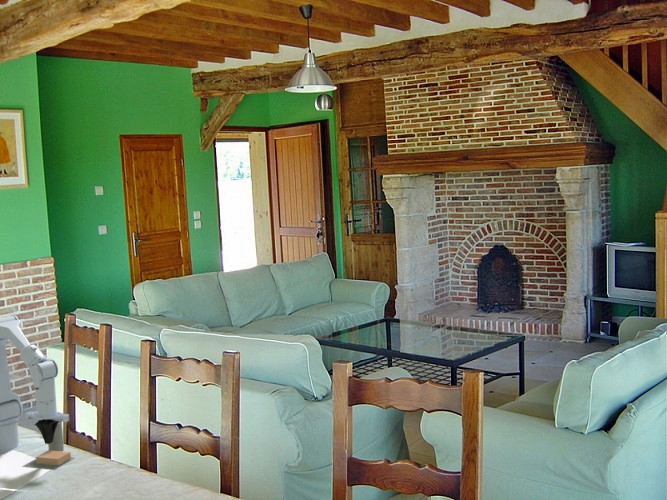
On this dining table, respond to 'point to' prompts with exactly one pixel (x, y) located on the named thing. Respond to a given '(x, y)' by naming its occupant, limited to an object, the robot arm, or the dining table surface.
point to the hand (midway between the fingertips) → (49, 442)
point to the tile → (53, 458)
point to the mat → (35, 465)
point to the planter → (57, 439)
